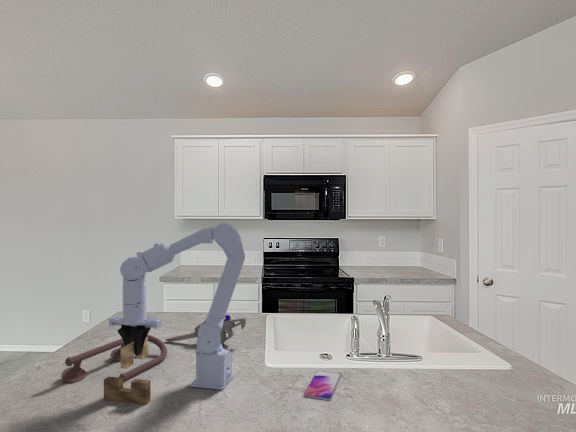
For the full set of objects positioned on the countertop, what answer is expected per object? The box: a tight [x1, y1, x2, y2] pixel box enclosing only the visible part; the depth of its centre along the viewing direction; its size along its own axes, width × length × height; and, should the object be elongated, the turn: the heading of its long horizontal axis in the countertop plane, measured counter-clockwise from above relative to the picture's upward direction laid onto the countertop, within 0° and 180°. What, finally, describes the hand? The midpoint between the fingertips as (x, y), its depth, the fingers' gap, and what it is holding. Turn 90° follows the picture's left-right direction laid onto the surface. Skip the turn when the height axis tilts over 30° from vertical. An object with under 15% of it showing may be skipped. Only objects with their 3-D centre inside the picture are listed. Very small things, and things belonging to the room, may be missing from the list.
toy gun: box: [165, 314, 247, 345], centre depth 126 cm, size 2×32×10 cm, turn 81°
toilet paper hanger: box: [61, 334, 168, 384], centre depth 105 cm, size 28×7×17 cm
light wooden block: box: [120, 337, 149, 370], centre depth 92 cm, size 9×2×5 cm, turn 167°
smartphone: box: [303, 370, 342, 402], centre depth 93 cm, size 7×1×15 cm
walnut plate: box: [103, 376, 152, 405], centre depth 86 cm, size 12×2×5 cm, turn 78°
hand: (134, 353), depth 91 cm, fingers closed on light wooden block, 2 cm apart
